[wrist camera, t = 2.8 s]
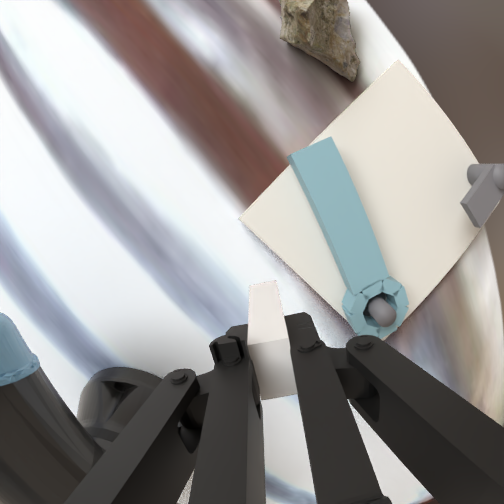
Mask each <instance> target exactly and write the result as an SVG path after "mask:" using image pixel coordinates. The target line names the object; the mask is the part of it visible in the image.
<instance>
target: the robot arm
mask: <svg viewBox="0 0 504 504" xmlns="http://www.w3.org/2000/svg"><path fill="white" fill-rule="evenodd" d="M209 347H210V350H211V353H212V357H213V360H214V363H215V366H214V370H212V371H210V372H208V373H205V374H202V375H199V376H196V374H195V372H194V371H193V370H191V369H178V370H175V371H173V372H171V373H169V374H168V375H167V376H165V377H164V379H163V380H162V379H161V378H159V377H157V376H154V375H152V374H150V373H147V372H144V371H141V370H137V369H133V368H126V367H113V368H107V369H104V370H101V371H99V372H97V373H96V374H95V375H94V376H93V377H92V378H91V379H90V380H89V382H88V383H87V384H86V386H85V387H84V389H83V391H82V393H81V396H80V401H79V406H78V412H77V418H76V417H75V416H74V414H73V413H72V412H71V410H70V409H69V408H68V406H67V405H66V404H65V402H64V401H63V400H62V398H61V397H60V395H59V394H58V392H57V391H56V390H55V388H54V387H53V385H52V384H51V382H50V381H49V379H48V378H47V376H46V375H45V373H44V371H43V370H42V368H41V367H40V362H39V360H38V358H37V356H36V355H35V354H33V353H32V352H31V351H30V349H29V348H28V346H27V344H26V343H25V341H24V340H23V338H22V336H21V335H20V333H19V331H18V329H17V328H16V326H15V324H14V323H13V321H12V320H11V319H10V318H9V317H8V316H6V315H5V314H3V313H1V312H0V504H176V503H177V501H178V499H179V497H180V495H181V493H182V491H183V489H184V487H185V485H186V483H187V482H188V480H189V478H190V476H191V474H192V472H193V470H194V468H195V470H194V475H193V481H192V486H191V492H190V498H189V503H188V504H266V494H265V465H264V438H263V411H262V405H261V401H260V396H261V400H266V399H272V398H278V397H284V396H289V395H294V394H298V399H299V405H300V411H301V415H302V421H303V426H304V432H305V438H306V443H307V449H308V454H309V460H310V466H311V472H312V478H313V483H314V489H315V495H316V501H317V504H392V502H391V500H390V499H389V498H388V497H386V496H384V495H383V494H382V492H381V490H380V487H379V484H378V481H377V478H376V475H375V473H374V470H373V467H372V464H371V462H370V459H369V456H368V453H367V451H366V448H365V445H364V443H363V440H362V437H361V434H360V432H359V429H358V427H357V424H356V421H355V419H354V416H353V413H352V411H351V408H350V406H349V403H348V400H347V399H349V401H350V403H351V405H352V406H353V407H354V408H355V409H356V410H357V412H358V413H359V414H360V415H361V416H362V417H363V419H364V420H365V421H366V422H367V423H368V424H369V425H370V427H371V428H372V429H373V430H374V431H375V432H376V433H377V435H378V436H379V437H380V438H381V439H382V440H383V441H384V443H385V444H386V445H387V446H388V447H389V448H390V449H391V450H392V452H393V453H394V454H395V455H396V456H397V457H398V458H399V459H400V461H401V462H402V463H403V464H404V465H405V466H406V467H407V468H408V469H409V471H410V472H411V473H412V474H413V475H414V476H415V477H416V478H417V479H418V481H419V482H420V483H421V484H422V485H423V486H424V487H425V488H426V489H427V490H428V492H429V493H430V494H431V495H432V496H433V497H434V498H435V499H436V500H437V501H438V502H439V503H440V504H504V428H503V427H502V426H501V425H499V424H498V423H497V422H495V421H494V420H492V419H491V418H490V417H488V416H487V415H486V414H484V413H483V412H481V411H480V410H479V409H477V408H476V407H474V406H473V405H472V404H470V403H469V402H468V401H466V400H465V399H463V398H462V397H461V396H459V395H458V394H456V393H455V392H454V391H452V390H451V389H450V388H448V387H447V386H445V385H444V384H443V383H441V382H440V381H438V380H437V379H436V378H434V377H433V376H431V375H430V374H429V373H427V372H426V371H424V370H423V369H422V368H420V367H419V366H418V365H416V364H415V363H413V362H412V361H411V360H409V359H408V358H406V357H405V356H404V355H402V354H401V353H399V352H398V351H397V350H395V349H394V348H392V347H391V346H390V345H388V344H387V343H385V342H384V341H383V340H381V339H380V338H378V337H376V336H373V335H360V336H357V337H354V338H352V339H350V340H349V341H348V342H347V344H346V348H330V347H327V346H326V345H325V343H324V342H323V341H322V340H320V338H319V336H318V333H317V331H316V328H315V326H314V323H313V321H312V318H311V316H310V315H308V314H307V313H305V312H302V313H297V314H292V315H288V316H284V314H283V309H282V305H281V300H280V296H279V291H278V287H277V282H276V280H274V281H269V282H264V283H259V284H254V285H250V289H249V314H248V324H244V325H238V326H233V327H231V328H230V329H229V330H228V331H227V332H226V335H224V336H221V337H219V338H216V339H215V340H213V341H212V342H211V343H210V345H209Z"/></svg>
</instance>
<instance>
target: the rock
mask: <svg viewBox="0 0 504 504" xmlns="http://www.w3.org/2000/svg"><path fill="white" fill-rule="evenodd" d="M279 2H280V5H281V17H280V18H281V19H282V27H281V33H280V39H282V40H284V41H286V42H288V43H290V44H292V46H294V47H297V48H300V49H301V50H303V51H304V52H305V53H306V54H308V55H310V56H313V57H315V58H316V59H318V60H320V61H321V62H323V63H324V64H326V65H328V66H329V67H330V68H331V69H332V70H334V71H335V72H338V73H339V74H340V75H342V76H344V77H346V78H348V80H350V81H352V82H353V81H354V80H355V78H356V75H357V68H358V66H359V64H360V61H359V58H358V57H357V55H356V53H355V47H356V43H355V41H354V39H353V37H352V35H351V30H350V21H349V16H350V12H349V6H348V2H347V0H279Z"/></svg>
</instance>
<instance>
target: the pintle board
mask: <svg viewBox="0 0 504 504" xmlns="http://www.w3.org/2000/svg"><path fill="white" fill-rule="evenodd" d="M330 136H331V137H332V139H333V141H334V143H335V145H336V147H337V149H338V151H339V153H340V155H341V157H342V159H343V162H344V164H345V166H346V168H347V170H348V172H349V175H350V177H351V179H352V181H353V184H354V186H355V188H356V191H357V193H358V195H359V198H360V200H361V202H362V205H363V207H364V210H365V212H366V214H367V217H368V219H369V222H370V224H371V227H372V230H373V232H374V235H375V237H376V240H377V243H378V246H379V248H380V251H381V254H382V257H383V259H384V262H385V265H386V268H387V271H388V274H389V276H391V277H393V278H394V279H395V280H397V281H398V282H400V283H401V284H402V286H404V288H405V291H406V294H407V298H408V301H409V305H407V307H408V308H409V309H408V311H407V313H406V315H405V317H404V320H405V319H406V318H407V317H408V316H409V315H410V314H411V313H412V312H413V311H414V310H415V309H416V308H417V307H418V305H419V304H420V303H421V302H422V301H423V300H424V299H425V298H426V297H427V296H428V294H429V293H430V292H431V291H432V290H433V289H434V288H435V287H436V285H437V284H438V283H439V282H440V281H441V280H442V278H443V277H444V276H445V275H446V274H447V272H448V271H449V270H450V269H451V268H452V266H453V265H454V264H455V263H456V261H457V260H458V259H459V258H460V256H461V255H462V254H463V253H464V251H465V250H466V249H467V247H468V246H469V245H470V243H471V242H472V241H473V239H474V238H475V237H476V235H477V234H478V233H479V231H480V230H481V228H482V227H483V226H484V224H485V223H486V221H487V220H488V218H489V217H490V215H491V214H492V212H493V211H494V209H495V208H496V206H497V205H498V203H499V202H500V199H501V197H502V196H503V194H504V164H479V163H478V161H477V160H476V158H475V157H474V155H473V153H472V152H471V150H470V149H469V147H468V146H467V144H466V143H465V141H464V140H463V138H462V137H461V135H460V134H459V132H458V131H457V130H456V128H455V127H454V125H453V124H452V123H451V121H450V120H449V119H448V117H447V116H446V115H445V113H444V112H443V111H442V109H441V108H440V107H439V105H438V104H437V103H436V102H435V100H434V99H433V98H432V97H431V96H430V94H429V93H428V92H427V91H426V90H425V88H424V87H423V86H422V85H421V84H420V83H419V81H418V80H417V79H416V78H415V77H414V76H413V75H412V74H411V73H410V71H409V70H408V69H407V68H406V67H405V66H404V65H403V64H402V63H401V62H400V61H399V60H397V61H396V62H394V63H393V64H392V65H391V66H390V67H389V68H388V69H387V70H386V71H385V72H384V73H382V74H381V75H380V76H379V77H378V78H377V79H376V80H375V81H374V82H373V83H372V84H371V85H370V86H369V87H368V88H367V89H366V90H365V91H364V92H363V93H362V94H360V95H359V96H358V97H357V98H356V99H355V100H354V101H353V102H352V103H351V104H350V105H349V106H348V107H347V108H346V109H345V110H344V111H343V112H342V113H341V114H340V115H339V116H338V117H337V118H336V119H335V120H334V121H333V122H332V123H331V124H330V125H329V126H328V127H327V128H326V129H325V130H324V131H323V132H322V133H321V134H320V135H319V136H318V137H317V138H316V139H315V140H314V141H313V142H312V143H311V144H310V145H312V144H314V143H317V142H319V141H321V140H324V139H326V138H328V137H330ZM310 145H309V146H310ZM239 220H240V221H241V222H242V223H244V224H245V225H246V226H247V227H248V228H249V229H250V230H251V231H252V232H253V233H254V234H255V235H257V236H258V237H259V238H260V239H261V240H262V241H263V242H264V243H265V244H266V245H267V246H268V247H269V248H270V249H272V250H273V251H274V252H275V253H276V254H277V255H278V256H279V257H280V258H281V259H282V260H283V261H284V262H285V263H286V264H288V265H289V266H290V267H291V268H292V269H293V270H294V271H295V272H296V273H297V274H298V275H299V276H300V277H301V278H302V279H303V280H305V281H306V282H307V283H308V284H309V285H310V286H311V287H312V288H313V289H314V290H315V291H316V292H317V293H318V294H319V295H320V296H321V297H322V298H324V299H325V300H326V301H327V302H328V303H329V304H330V305H331V306H332V307H333V308H334V309H335V310H336V311H337V312H338V313H339V314H340V315H341V316H342V317H343V318H344V319H346V320H347V318H346V316H345V313H344V311H343V308H342V305H343V303H342V300H343V297H344V295H345V293H346V290H347V287H346V286H345V283H344V281H343V279H342V276H341V274H340V271H339V269H338V267H337V264H336V262H335V260H334V257H333V255H332V253H331V250H330V248H329V246H328V243H327V241H326V239H325V237H324V234H323V232H322V230H321V228H320V226H319V223H318V221H317V219H316V217H315V215H314V212H313V210H312V208H311V206H310V204H309V202H308V200H307V198H306V195H305V193H304V191H303V189H302V187H301V185H300V183H299V181H298V179H297V177H296V175H295V173H294V171H293V169H292V167H291V165H289V166H288V167H287V168H286V169H285V170H284V171H283V172H282V173H281V174H280V175H279V176H278V177H277V178H276V179H275V181H274V182H273V183H272V184H271V185H270V186H269V187H268V188H267V189H266V190H265V191H264V192H263V193H262V194H261V195H260V196H259V197H258V198H257V199H256V200H255V201H254V202H253V204H252V205H251V206H250V207H249V208H248V209H247V210H246V211H245V212H244V213H243V214H242V215H241V216H240V217H239ZM386 299H387V297H386V294H385V293H383V292H381V293H379V294H378V295H376V296H374V297H372V298H370V299H369V300H368V302H367V304H366V307H365V309H364V311H363V315H365V316H368V317H370V316H372V317H373V318H374V319H375V320H376V322H377V323H378V324H379V325H380V326H381V327H389V326H390V325H392V324H393V323H394V322H395V320H396V317H397V314H396V311H395V310H394V309H393V308H392V307H391V306H390V305H389V304H388V303H387V302H386ZM404 320H403V321H404ZM347 321H348V320H347ZM396 327H398V326H396ZM389 335H390V334H389ZM389 335H387V336H385V337H383V338H381V340H383V341H384V340H385V339H386V338H387V337H388V336H389Z"/></svg>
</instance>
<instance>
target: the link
mask: <svg viewBox="0 0 504 504" xmlns="http://www.w3.org/2000/svg"><path fill="white" fill-rule="evenodd" d="M287 159H288V161H289V163H290V165H291V167H292V169H293V171H294V173H295V175H296V177H297V179H298V181H299V183H300V185H301V187H302V189H303V191H304V193H305V195H306V198H307V200H308V202H309V204H310V206H311V208H312V210H313V212H314V215H315V217H316V219H317V221H318V223H319V226H320V228H321V230H322V232H323V234H324V237H325V239H326V241H327V243H328V246H329V248H330V250H331V253H332V255H333V257H334V260H335V262H336V264H337V267H338V269H339V271H340V274H341V276H342V279H343V281H344V283H345V286H346V287H347V290H346V293H345V295H344V297H343V300H342V303H343V305H342V308H343V311H344V313H345V316H346V318H347V320H348V322H349V324H350V325H351V327H352V328H353V330H354V332H355V333H357V334H358V336H360V335H373V336H376V337H378V338H380V339H381V338H383V337H385V336H387V335H389V334H391V333H392V332H394V331H396V330H397V327H396V326H399V327H400V326H401V324H402V322H403V320H404V317H405V315H406V313H407V311H408V309H409V308H408V307H407V305H409V301H408V298H407V294H406V291H405V288H404V286H402V284H401V283H400V282H398V281H397V280H395V279H394V278H393V277H391V276H389V274H388V271H387V268H386V265H385V262H384V259H383V257H382V254H381V251H380V248H379V246H378V243H377V240H376V237H375V235H374V232H373V230H372V227H371V224H370V222H369V219H368V217H367V214H366V212H365V210H364V207H363V205H362V202H361V200H360V198H359V195H358V193H357V191H356V188H355V186H354V184H353V181H352V179H351V177H350V175H349V172H348V170H347V168H346V166H345V164H344V162H343V159H342V157H341V155H340V153H339V151H338V149H337V147H336V145H335V143H334V141H333V139H332V137H331V136H330V137H328V138H326V139H324V140H321V141H319V142H317V143H314V144H312V145H310V146H308V147H306V148H303V149H301V150H299V151H297V152H295V153H293V154H290V155H289V156H288V157H287ZM381 292H383V293H385V294H386V297H387V299H386V302H387V303H388V304H389V305H390V306H391V307H392V308H393V309H394V310H395V311H396V314H397V317H396V320H395V322H394V323H393V324H392V325H390V326H389V327H381V326H380V325H379V324H378V323H377V322H376V320H375V319H374V318H373V317H372V316H370V317H368V316H365V315H363V311H364V309H365V307H366V304H367V302H368V300H369V299H370V298H372V297H374V296H376V295H378V294H379V293H381Z"/></svg>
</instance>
